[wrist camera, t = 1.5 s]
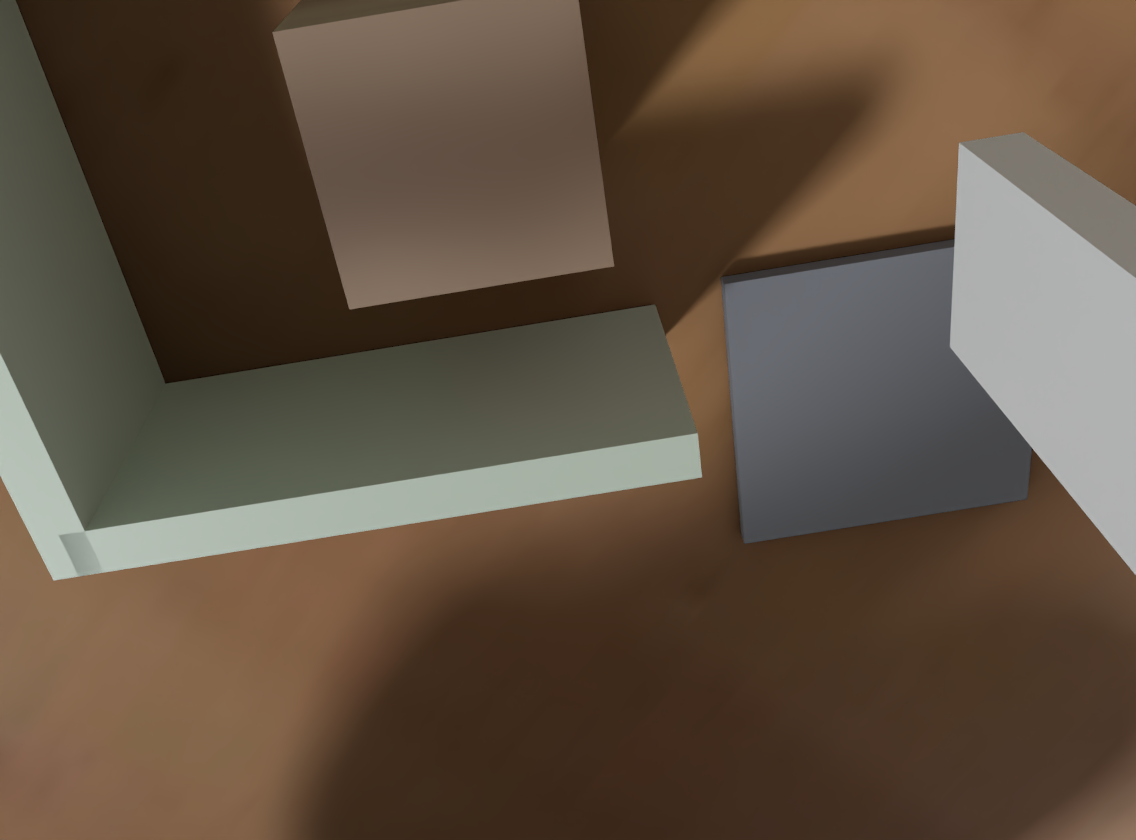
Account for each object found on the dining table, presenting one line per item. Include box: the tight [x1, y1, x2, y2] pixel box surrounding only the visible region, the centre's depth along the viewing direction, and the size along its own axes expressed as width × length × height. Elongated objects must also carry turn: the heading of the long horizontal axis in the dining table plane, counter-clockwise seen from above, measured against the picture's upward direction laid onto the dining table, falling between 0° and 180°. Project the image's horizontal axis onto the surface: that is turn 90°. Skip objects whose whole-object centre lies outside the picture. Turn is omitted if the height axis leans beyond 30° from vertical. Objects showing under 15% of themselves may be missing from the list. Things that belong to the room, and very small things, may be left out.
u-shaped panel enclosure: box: [0, 0, 702, 580], centre depth 23 cm, size 15×16×7 cm
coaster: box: [721, 239, 1032, 544], centre depth 31 cm, size 9×9×1 cm
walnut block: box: [272, 0, 614, 310], centre depth 23 cm, size 6×6×7 cm
